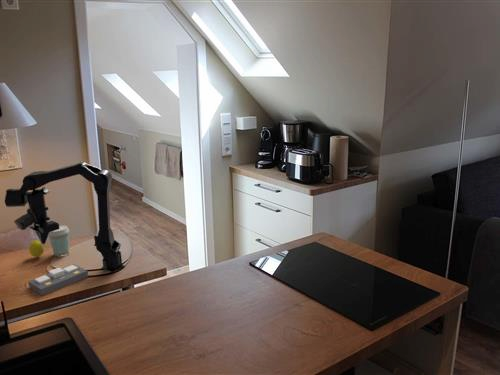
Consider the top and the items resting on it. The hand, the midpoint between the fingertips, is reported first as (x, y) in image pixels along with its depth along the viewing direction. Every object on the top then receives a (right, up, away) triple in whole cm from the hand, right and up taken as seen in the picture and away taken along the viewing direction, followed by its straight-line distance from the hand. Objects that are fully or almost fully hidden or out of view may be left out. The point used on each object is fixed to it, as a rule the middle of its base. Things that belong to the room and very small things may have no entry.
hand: (43, 243), depth 170 cm
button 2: (+11, -11, -1) cm, 16 cm away
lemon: (-10, -8, +17) cm, 21 cm away
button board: (+9, -14, -5) cm, 17 cm away
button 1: (+4, -13, -9) cm, 17 cm away
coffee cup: (-1, -7, +20) cm, 21 cm away
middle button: (+8, -11, -5) cm, 15 cm away
